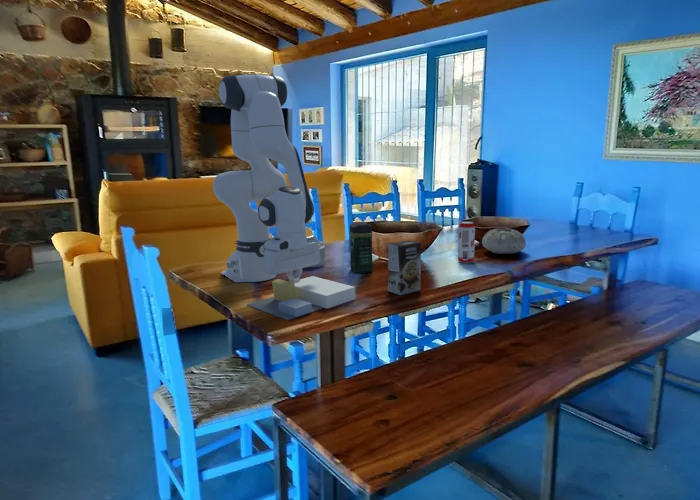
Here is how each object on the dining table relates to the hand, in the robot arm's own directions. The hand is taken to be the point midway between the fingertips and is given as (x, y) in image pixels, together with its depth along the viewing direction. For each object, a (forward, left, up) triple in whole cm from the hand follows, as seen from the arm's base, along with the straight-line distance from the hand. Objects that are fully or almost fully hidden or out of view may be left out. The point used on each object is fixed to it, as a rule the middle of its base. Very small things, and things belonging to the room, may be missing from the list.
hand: (294, 282), depth 161 cm
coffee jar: (-8, +39, -5) cm, 40 cm away
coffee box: (+21, +29, -5) cm, 36 cm away
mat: (+4, -8, -5) cm, 10 cm away
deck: (+5, +6, -5) cm, 9 cm away
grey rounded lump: (+18, +99, -5) cm, 101 cm away
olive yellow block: (0, -4, -2) cm, 5 cm away
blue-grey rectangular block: (+10, -8, -4) cm, 14 cm away
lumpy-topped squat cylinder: (-31, +34, -6) cm, 47 cm away
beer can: (+15, +75, -5) cm, 77 cm away
